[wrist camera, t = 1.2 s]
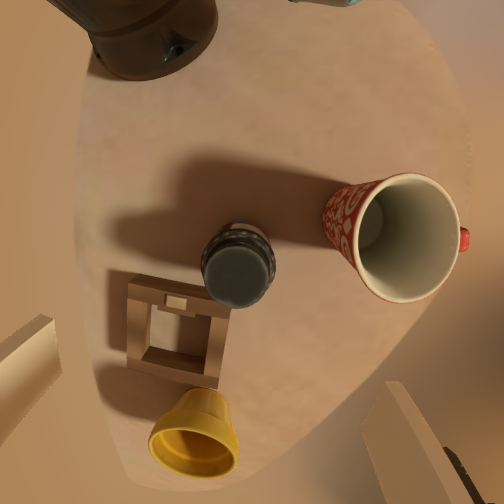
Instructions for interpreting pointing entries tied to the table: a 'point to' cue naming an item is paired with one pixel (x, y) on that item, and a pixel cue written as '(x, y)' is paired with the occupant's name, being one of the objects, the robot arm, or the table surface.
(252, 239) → the pill bottle
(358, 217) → the mug
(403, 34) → the table surface
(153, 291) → the wooden tray
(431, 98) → the table surface
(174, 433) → the plant pot
